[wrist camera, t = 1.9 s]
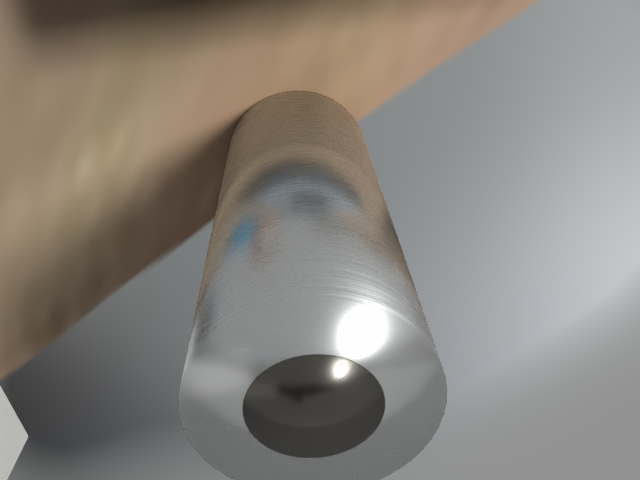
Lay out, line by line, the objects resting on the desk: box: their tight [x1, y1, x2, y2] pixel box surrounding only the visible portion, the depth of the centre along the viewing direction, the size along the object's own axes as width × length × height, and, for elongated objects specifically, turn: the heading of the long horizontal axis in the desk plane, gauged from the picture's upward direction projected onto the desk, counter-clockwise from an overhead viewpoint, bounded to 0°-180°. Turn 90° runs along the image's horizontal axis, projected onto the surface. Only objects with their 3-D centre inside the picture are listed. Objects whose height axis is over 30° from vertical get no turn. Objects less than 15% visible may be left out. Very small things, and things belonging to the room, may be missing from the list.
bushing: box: [178, 91, 447, 480], centre depth 15 cm, size 4×4×11 cm
